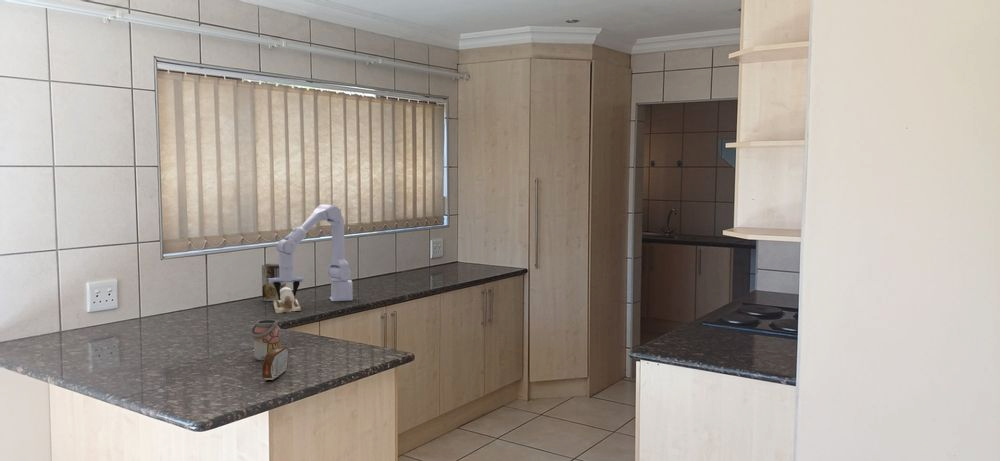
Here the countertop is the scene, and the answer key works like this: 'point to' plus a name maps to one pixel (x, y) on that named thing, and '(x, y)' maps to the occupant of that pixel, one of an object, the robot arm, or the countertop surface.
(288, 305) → the roll holder
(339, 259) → the robot arm
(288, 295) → the paper roll
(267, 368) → the tin
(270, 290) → the coffee box
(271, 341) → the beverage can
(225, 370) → the countertop surface
